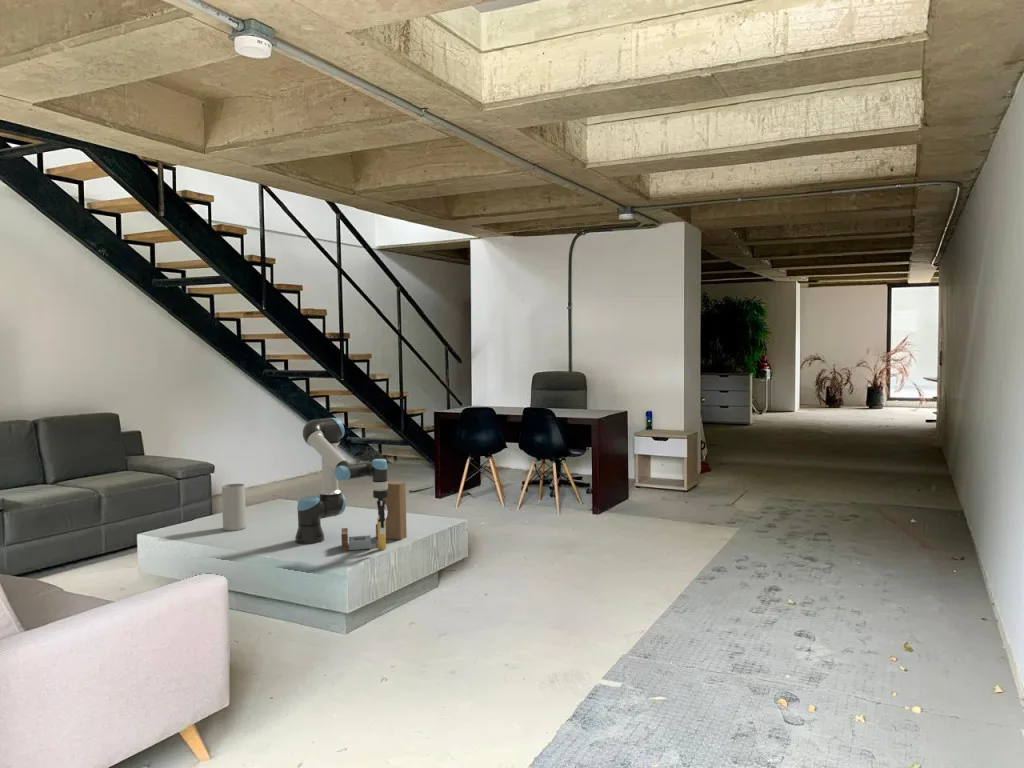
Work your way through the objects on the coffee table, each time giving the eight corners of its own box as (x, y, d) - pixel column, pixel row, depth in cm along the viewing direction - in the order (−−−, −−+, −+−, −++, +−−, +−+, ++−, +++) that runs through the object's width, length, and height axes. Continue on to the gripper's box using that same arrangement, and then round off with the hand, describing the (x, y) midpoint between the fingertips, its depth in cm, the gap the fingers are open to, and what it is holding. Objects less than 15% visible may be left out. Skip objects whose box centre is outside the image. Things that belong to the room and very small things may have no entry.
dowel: (377, 548, 391) (377, 517, 390) (385, 547, 392) (385, 517, 391) (378, 550, 387) (377, 519, 386) (386, 549, 388) (385, 518, 387)
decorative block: (407, 536, 414) (405, 481, 413) (400, 540, 407) (399, 484, 406) (382, 534, 419) (381, 480, 418) (375, 538, 412) (374, 483, 411)
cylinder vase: (250, 527, 443) (249, 484, 441) (232, 532, 432) (230, 488, 431) (237, 525, 450) (235, 482, 448) (218, 529, 439) (216, 486, 438)
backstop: (342, 545, 398) (341, 528, 398) (348, 545, 399) (347, 527, 399) (341, 551, 386) (341, 534, 385) (348, 551, 386) (347, 533, 386)
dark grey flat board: (348, 546, 397) (348, 545, 397) (384, 543, 401) (384, 543, 401) (348, 550, 389) (348, 549, 389) (385, 547, 393) (385, 547, 393)
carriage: (349, 544, 398) (348, 536, 398) (370, 543, 401) (370, 535, 400) (349, 550, 387) (348, 542, 387) (371, 548, 390) (370, 540, 390)
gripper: (372, 486, 399) (373, 526, 400) (373, 494, 375) (375, 537, 376) (386, 485, 401) (388, 525, 402) (389, 493, 376) (390, 536, 377)
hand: (381, 531), depth 389 cm, fingers open, 13 cm apart
